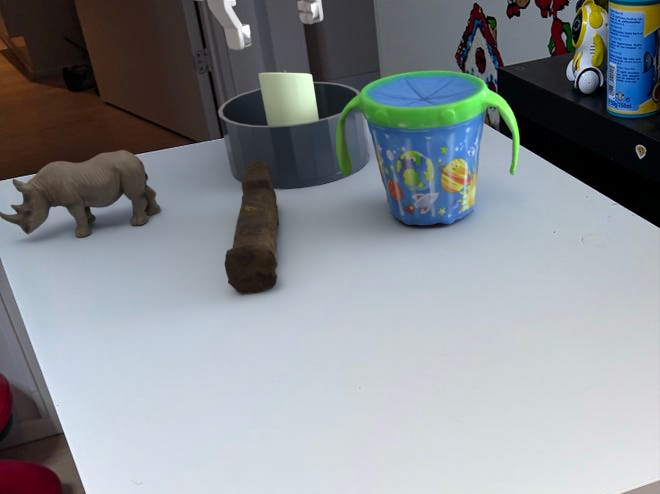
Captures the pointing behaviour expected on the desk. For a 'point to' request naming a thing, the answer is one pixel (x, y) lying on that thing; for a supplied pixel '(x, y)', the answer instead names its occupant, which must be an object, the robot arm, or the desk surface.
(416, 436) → the desk surface
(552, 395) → the desk surface
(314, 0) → the robot arm
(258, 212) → the brown rough bar
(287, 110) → the candle
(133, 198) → the rhino figurine
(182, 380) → the desk surface
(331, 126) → the tin
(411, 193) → the snack cup
